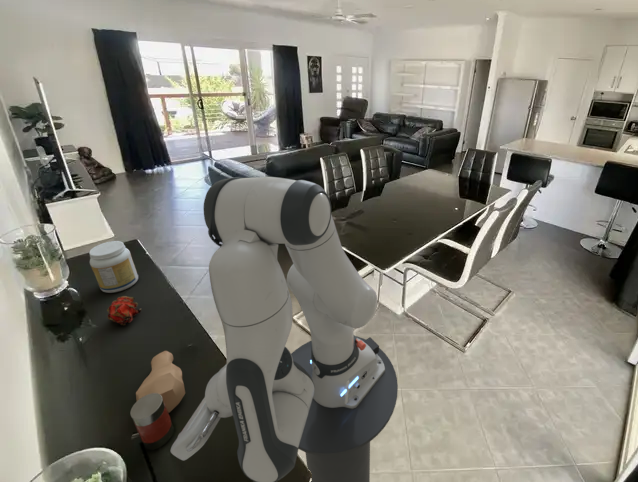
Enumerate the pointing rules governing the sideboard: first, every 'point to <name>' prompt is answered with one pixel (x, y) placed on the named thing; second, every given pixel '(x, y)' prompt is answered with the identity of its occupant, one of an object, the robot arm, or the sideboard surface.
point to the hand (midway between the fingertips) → (197, 412)
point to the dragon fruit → (123, 310)
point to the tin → (152, 421)
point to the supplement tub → (113, 266)
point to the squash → (164, 381)
